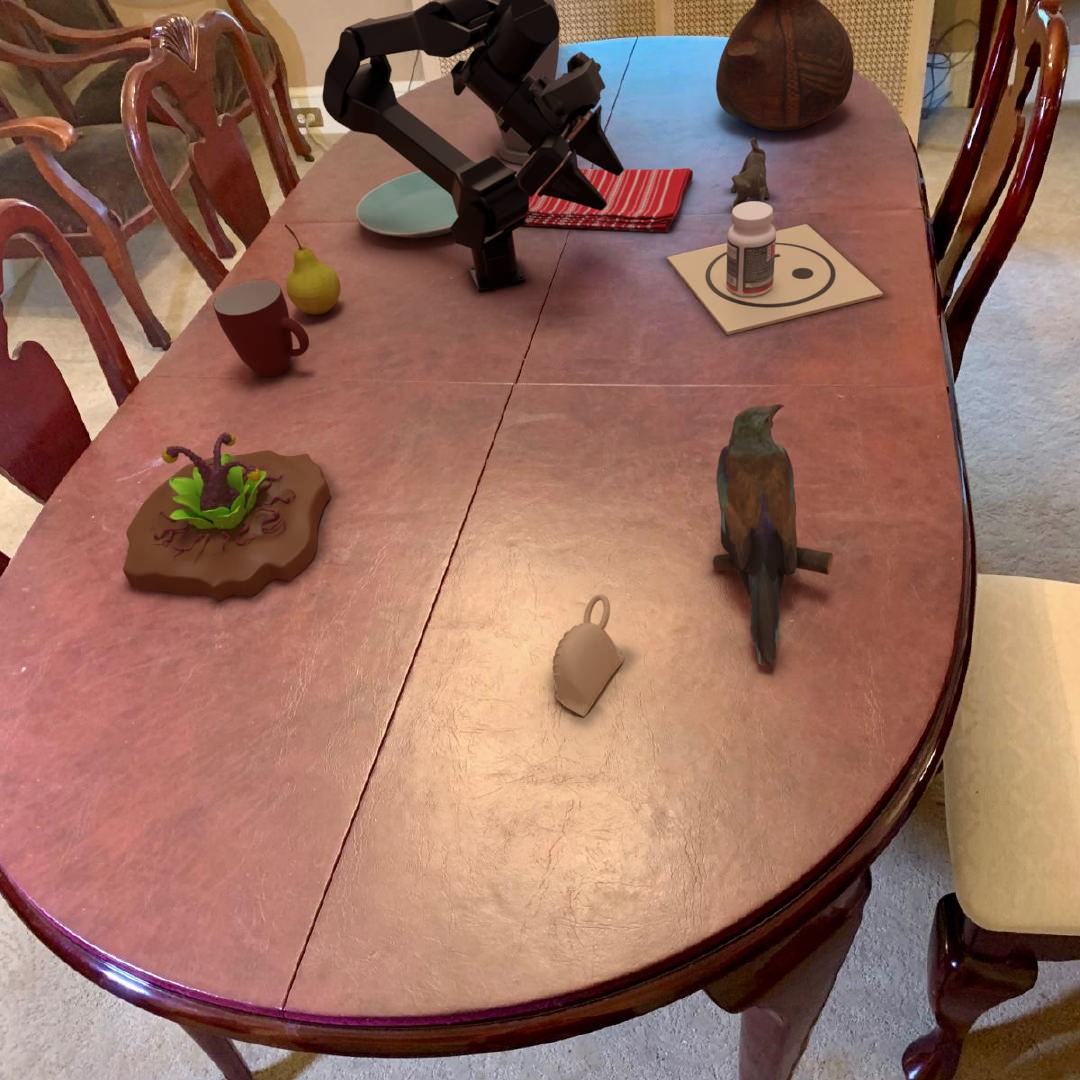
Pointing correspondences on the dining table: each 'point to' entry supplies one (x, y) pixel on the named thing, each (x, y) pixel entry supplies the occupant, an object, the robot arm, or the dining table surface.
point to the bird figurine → (761, 522)
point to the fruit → (312, 282)
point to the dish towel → (618, 201)
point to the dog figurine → (751, 176)
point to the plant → (227, 523)
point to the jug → (785, 65)
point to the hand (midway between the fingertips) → (613, 189)
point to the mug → (260, 326)
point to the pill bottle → (751, 249)
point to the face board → (776, 282)
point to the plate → (408, 208)
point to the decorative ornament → (585, 661)
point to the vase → (511, 142)
